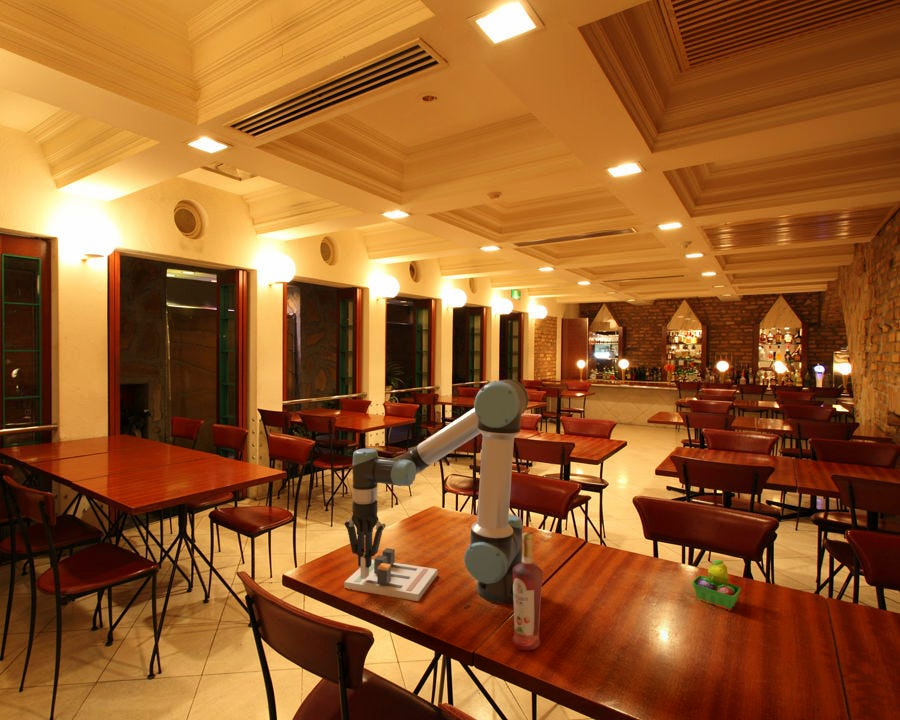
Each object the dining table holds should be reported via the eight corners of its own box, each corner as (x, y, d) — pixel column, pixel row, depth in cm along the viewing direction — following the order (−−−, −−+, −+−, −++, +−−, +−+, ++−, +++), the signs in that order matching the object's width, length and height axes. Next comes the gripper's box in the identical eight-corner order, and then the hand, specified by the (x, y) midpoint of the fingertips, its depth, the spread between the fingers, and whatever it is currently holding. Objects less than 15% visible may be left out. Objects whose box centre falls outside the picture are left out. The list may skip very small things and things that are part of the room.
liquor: (547, 646, 122) (549, 534, 121) (529, 659, 116) (531, 542, 116) (523, 633, 127) (524, 526, 126) (505, 645, 122) (506, 533, 121)
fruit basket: (690, 599, 145) (691, 562, 145) (700, 589, 151) (701, 553, 151) (733, 614, 137) (734, 574, 137) (742, 603, 143) (743, 565, 143)
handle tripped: (390, 580, 149) (390, 564, 149) (386, 585, 146) (386, 568, 146) (381, 579, 150) (381, 563, 150) (377, 583, 147) (377, 567, 147)
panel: (437, 575, 159) (437, 568, 159) (418, 601, 142) (418, 593, 142) (369, 564, 166) (369, 558, 166) (344, 588, 149) (344, 581, 149)
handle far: (394, 562, 162) (394, 549, 162) (390, 566, 159) (390, 552, 159) (386, 561, 163) (386, 548, 163) (382, 565, 160) (382, 551, 160)
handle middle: (386, 570, 156) (387, 556, 156) (382, 574, 153) (383, 560, 153) (378, 569, 157) (378, 555, 157) (374, 573, 154) (374, 559, 154)
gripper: (389, 498, 151) (389, 574, 152) (351, 494, 155) (351, 568, 156) (379, 506, 144) (378, 585, 145) (339, 501, 148) (339, 579, 148)
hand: (364, 576), depth 150 cm, fingers closed
